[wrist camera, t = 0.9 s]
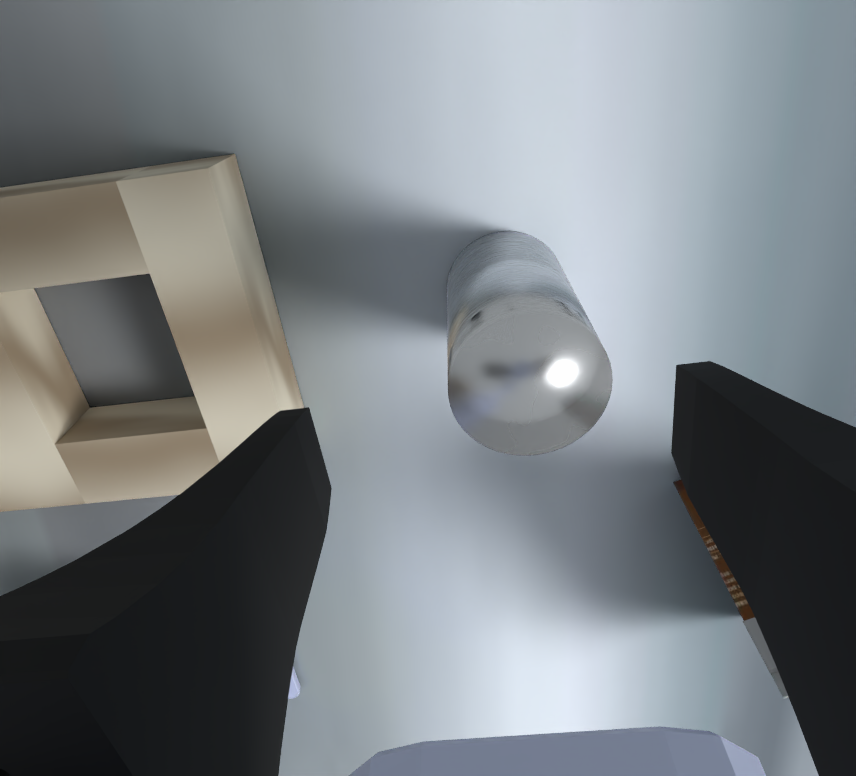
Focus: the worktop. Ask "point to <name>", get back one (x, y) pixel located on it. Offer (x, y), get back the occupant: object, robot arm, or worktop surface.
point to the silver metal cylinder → (521, 348)
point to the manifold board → (186, 315)
